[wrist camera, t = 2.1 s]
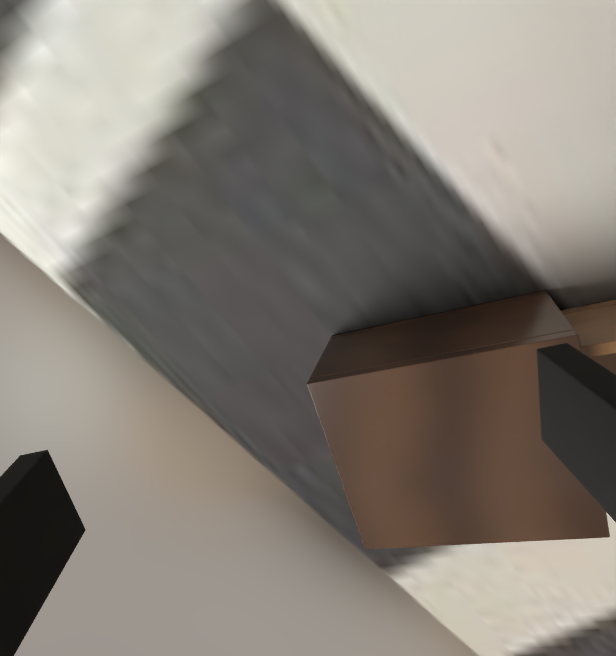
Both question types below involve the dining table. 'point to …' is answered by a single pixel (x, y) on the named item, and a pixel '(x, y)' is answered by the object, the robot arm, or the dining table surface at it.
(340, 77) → the dining table surface
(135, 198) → the dining table surface
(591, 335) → the drawer
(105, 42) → the dining table surface
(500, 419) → the cabinet
